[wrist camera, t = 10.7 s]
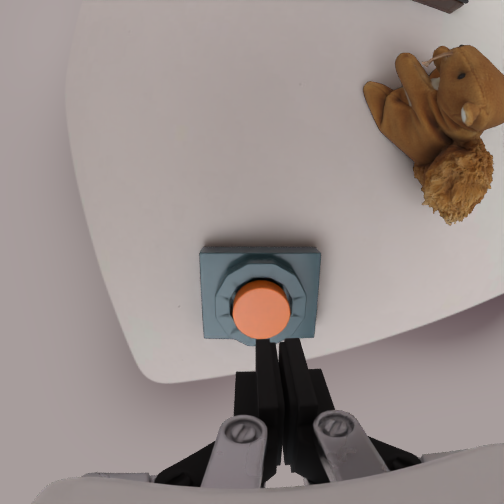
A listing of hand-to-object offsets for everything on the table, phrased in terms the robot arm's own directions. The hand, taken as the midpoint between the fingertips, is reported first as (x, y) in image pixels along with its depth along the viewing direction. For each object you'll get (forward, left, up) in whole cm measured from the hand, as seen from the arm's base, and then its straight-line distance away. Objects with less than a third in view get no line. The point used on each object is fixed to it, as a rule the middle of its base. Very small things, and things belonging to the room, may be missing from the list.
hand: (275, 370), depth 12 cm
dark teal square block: (0, -3, -17) cm, 17 cm away
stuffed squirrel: (+15, +12, -17) cm, 26 cm away
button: (0, -3, -13) cm, 14 cm away
